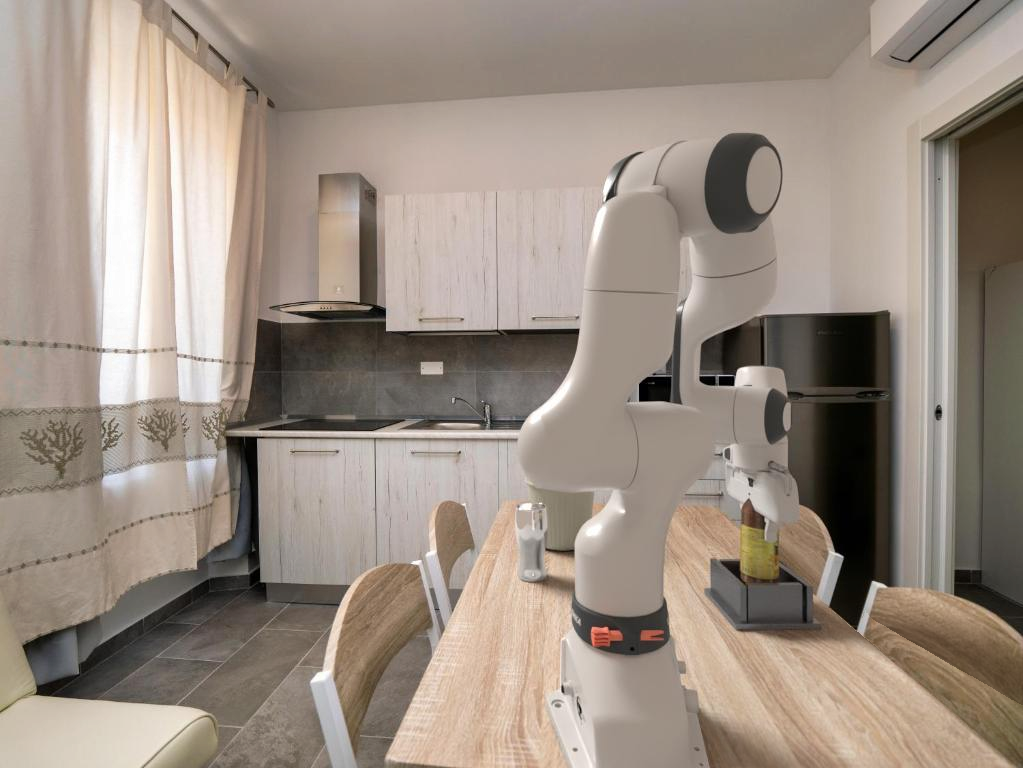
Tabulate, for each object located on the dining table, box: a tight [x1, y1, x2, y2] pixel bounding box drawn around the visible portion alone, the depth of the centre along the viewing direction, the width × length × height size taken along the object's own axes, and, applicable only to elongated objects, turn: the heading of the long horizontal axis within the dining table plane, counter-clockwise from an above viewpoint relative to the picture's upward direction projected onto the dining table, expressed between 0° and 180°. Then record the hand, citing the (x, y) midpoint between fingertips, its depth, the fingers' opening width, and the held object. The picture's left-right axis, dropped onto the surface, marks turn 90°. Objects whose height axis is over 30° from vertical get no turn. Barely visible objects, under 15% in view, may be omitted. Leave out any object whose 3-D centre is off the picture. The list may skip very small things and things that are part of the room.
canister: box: [524, 477, 595, 552], centre depth 126 cm, size 18×18×21 cm
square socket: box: [703, 557, 822, 631], centre depth 90 cm, size 14×14×7 cm
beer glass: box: [514, 501, 548, 583], centre depth 106 cm, size 7×7×15 cm
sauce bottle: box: [739, 477, 780, 583], centre depth 89 cm, size 6×6×20 cm
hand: (759, 534), depth 90 cm, fingers closed on sauce bottle, 6 cm apart
